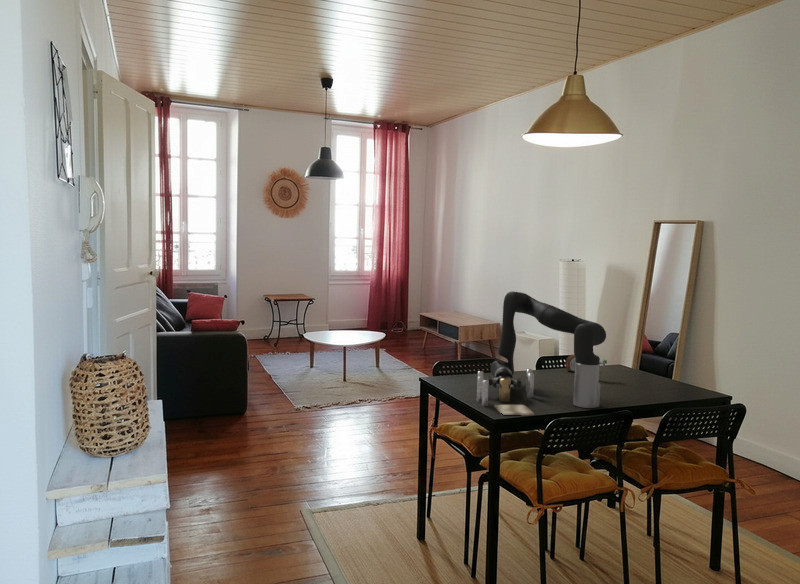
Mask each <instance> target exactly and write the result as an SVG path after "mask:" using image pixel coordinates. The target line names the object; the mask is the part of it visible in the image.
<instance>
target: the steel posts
mask: <svg viewBox="0 0 800 584" xmlns="http://www.w3.org/2000/svg"><path fill="white" fill-rule="evenodd" d="M525 375H526V377H525V378H526V379H525V393H526V397H527V398H528V399H533V398H534V388H535V387H534V385H535V373H534V372H533V368H526V374H525ZM476 383H477V384H476V402H477V403H481V407H485V406H486V407H488V406H489V389H490V388H489V387H490V386H489V381H488V379H484V371H482V370H481V371H480V370H478V371H477V380H476Z"/></svg>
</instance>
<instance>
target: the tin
mask: <svg viewBox="0 0 800 584" xmlns="http://www.w3.org/2000/svg"><path fill="white" fill-rule="evenodd" d="M575 361H576V359H575V355H574V354H570V355H568V357H567V358H566V359H565V364H564V366H565V370H567V371H568V372H573V373H575Z"/></svg>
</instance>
